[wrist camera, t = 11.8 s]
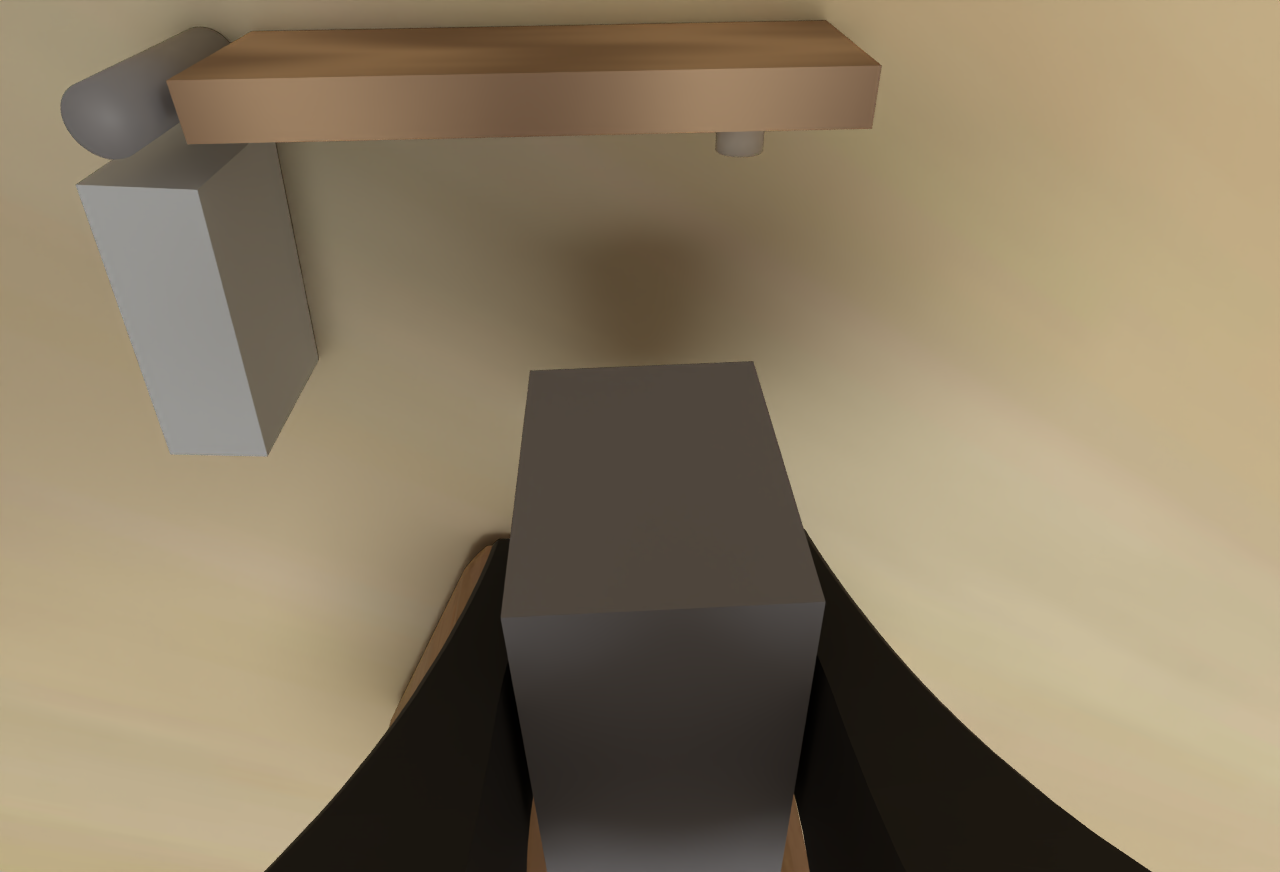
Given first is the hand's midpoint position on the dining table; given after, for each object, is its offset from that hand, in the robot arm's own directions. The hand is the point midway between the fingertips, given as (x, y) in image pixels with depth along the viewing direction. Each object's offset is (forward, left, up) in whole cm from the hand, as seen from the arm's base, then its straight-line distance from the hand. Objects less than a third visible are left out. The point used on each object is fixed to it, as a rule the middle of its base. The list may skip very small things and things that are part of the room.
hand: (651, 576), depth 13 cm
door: (+6, +2, -9) cm, 11 cm away
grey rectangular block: (0, 0, -2) cm, 2 cm away
